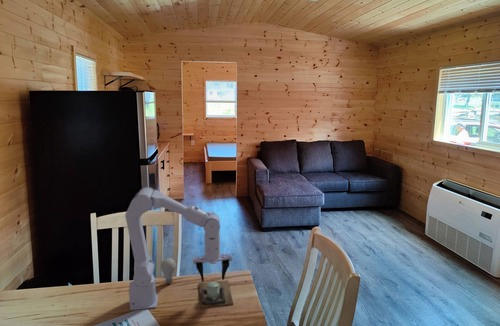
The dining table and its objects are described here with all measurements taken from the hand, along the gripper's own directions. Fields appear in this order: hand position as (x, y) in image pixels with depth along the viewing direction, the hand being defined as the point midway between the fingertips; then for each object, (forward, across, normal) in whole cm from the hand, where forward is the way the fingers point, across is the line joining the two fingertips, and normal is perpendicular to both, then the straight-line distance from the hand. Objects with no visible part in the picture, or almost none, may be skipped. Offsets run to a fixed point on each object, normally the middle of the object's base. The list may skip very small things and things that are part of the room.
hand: (212, 279), depth 137 cm
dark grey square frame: (+8, 0, 0) cm, 8 cm away
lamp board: (+8, +1, +3) cm, 9 cm away
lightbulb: (+9, -17, +14) cm, 24 cm away
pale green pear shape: (+8, 0, 0) cm, 8 cm away
